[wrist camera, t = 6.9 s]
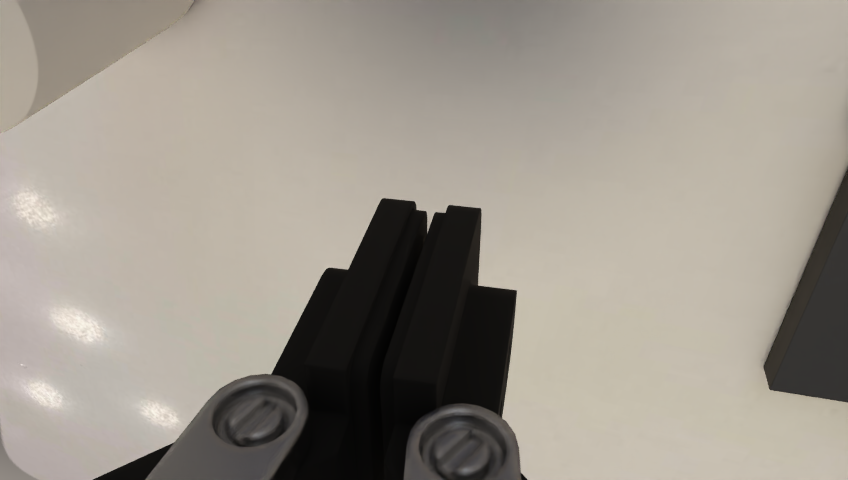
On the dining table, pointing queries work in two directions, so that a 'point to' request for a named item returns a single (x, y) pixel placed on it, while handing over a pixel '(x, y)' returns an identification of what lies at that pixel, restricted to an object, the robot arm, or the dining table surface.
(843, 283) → the scale
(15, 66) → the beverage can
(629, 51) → the dining table surface
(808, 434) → the dining table surface
